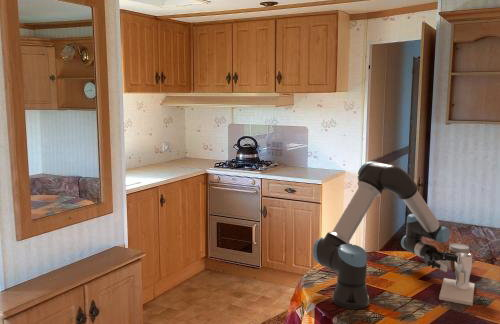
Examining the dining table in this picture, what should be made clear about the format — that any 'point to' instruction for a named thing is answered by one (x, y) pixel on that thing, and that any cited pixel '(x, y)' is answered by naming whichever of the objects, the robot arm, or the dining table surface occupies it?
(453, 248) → the disposable coffee cup
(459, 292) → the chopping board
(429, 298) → the dining table surface
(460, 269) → the beer glass
